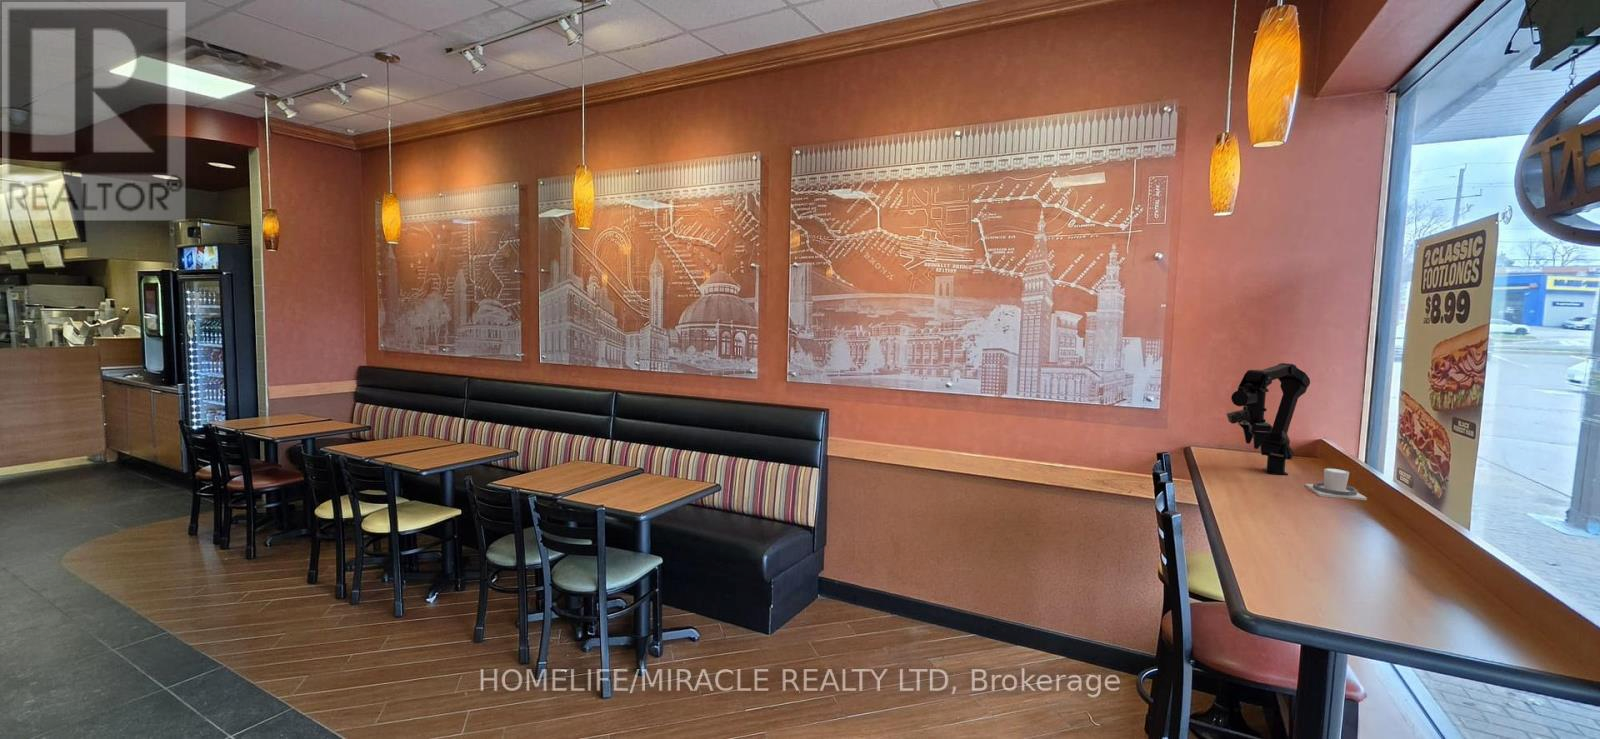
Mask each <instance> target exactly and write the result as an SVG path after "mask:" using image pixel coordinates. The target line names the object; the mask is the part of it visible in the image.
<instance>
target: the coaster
mask: <svg viewBox="0 0 1600 739" xmlns="http://www.w3.org/2000/svg"><path fill="white" fill-rule="evenodd" d="M1304 487H1306V488H1307V489H1309V490H1310V491H1312V492H1313V493H1314V494H1315V495H1317V496H1319V497H1324V498H1325V497H1326V498H1335V499H1346V498H1347V499H1348V500H1356V501H1357V500H1359V501H1368V497H1366V496H1365V495H1363V494H1361V493H1360V492H1359V489H1357V488H1355V487H1353V486H1349V485H1347V486H1346V491H1335V490H1330V489H1325V488H1324V481H1323V482H1314V483H1304Z"/></svg>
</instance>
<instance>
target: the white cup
mask: <svg viewBox="0 0 1600 739" xmlns="http://www.w3.org/2000/svg"><path fill="white" fill-rule="evenodd" d="M1349 477H1350V471H1348V470H1345V469H1344V470H1343V469H1338V468H1331V467H1330V468H1329V467H1328V468H1324V469H1323V482H1324V488H1325V489H1330V490H1335V491H1346V486H1348V481H1349Z"/></svg>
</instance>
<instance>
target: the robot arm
mask: <svg viewBox="0 0 1600 739" xmlns="http://www.w3.org/2000/svg"><path fill="white" fill-rule="evenodd" d="M1276 379H1278V381H1279V382H1280V386H1279V387H1280V390H1281V391H1282V396H1281V399H1280V403H1279V406H1278V409H1277V412H1276V415H1275V418H1274V422H1273V425H1272V424H1270V423H1268V422H1266V419H1265V412H1267V408H1266V394H1267V393H1268V392H1270V391H1269V389H1268V386H1269V385H1272V384H1273V381H1275V380H1276ZM1310 384H1311V380H1310V378H1309V376H1308V375H1307V373H1306V372H1305V371H1304V370H1302V369H1300V368H1298V367H1297V365H1296V364H1293V363H1287V362H1282V363H1281V362H1280V363H1278V364H1276V365H1274V366H1270V367H1267V368H1264V369H1249V370H1247V371H1245V373H1244V375H1243V377H1242V379H1241V381H1240V383H1239V385H1238V387H1237V390H1236V391H1234V392H1233V393H1232V394H1231V397H1230V398H1231V399H1230V400H1231V402H1232V404H1234V405H1235V406H1237V407H1242V409H1241V410H1235V411H1231V412H1228V413H1226V417H1227V420H1228V422H1229V423H1230V424H1237V425H1239V427H1241V428H1242V431H1243V434H1244V440H1245V443H1246V444H1249V445H1250V444H1251V442H1252V441H1253V442H1252V443H1253V449H1254V450H1259V448H1260V452H1261V456H1267V458H1266V460H1267V461H1266V468H1264V467H1263V468H1262V470H1263V471H1265V472H1266V473H1267V474H1269V475H1270V474H1272V475H1273V474H1274V475H1282V476H1283V475H1284V476H1288V475H1289V473H1288V472H1287V471H1286V461H1287V460H1292V459H1293V456H1294V451H1293V450H1292V448H1291V446H1290V444H1291V443H1290V442H1291V440H1290V438H1289V435H1288V432H1289V429H1290V425H1291V422H1292V418H1293V415H1294V414H1295V413H1294V412H1295V409H1296V406H1297V403H1298V400H1299V398H1300V397H1301V396H1303V395H1304V394H1305V393H1306V392H1307V389H1308V388H1309V386H1310Z"/></svg>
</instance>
